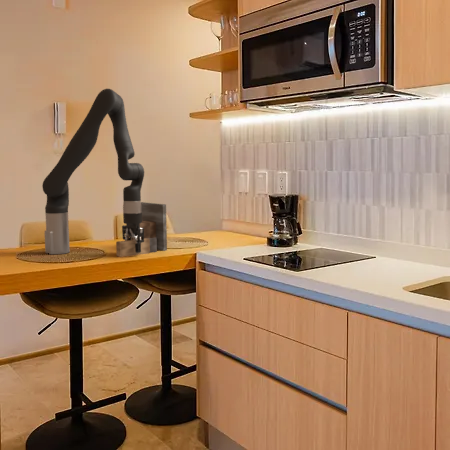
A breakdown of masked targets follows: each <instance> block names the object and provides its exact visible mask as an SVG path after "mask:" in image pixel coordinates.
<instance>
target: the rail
mask: <svg viewBox="0 0 450 450" xmlns="http://www.w3.org/2000/svg"><path fill="white" fill-rule="evenodd" d="M115 244H116V257H119V258H123V257H129V256H138V255H146V254H150V253H152V254H153V253H157V251H158V249H157V238H148V239H147V238H144V242H142V243H141V252H140V253H136V252H135V244H136V243H135V240H126V241H125V240H118V241H117V240H116V243H115Z"/></svg>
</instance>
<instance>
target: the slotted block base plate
mask: <svg viewBox="0 0 450 450" xmlns="http://www.w3.org/2000/svg"><path fill="white" fill-rule="evenodd" d="M141 207H142V223H140V224H139V226H140V228H144V238H147V239H148V238H157V251H158V250H159V251H168V238H167V237H168V235H167V234H168V233H167V231H168V230H167V228H168V227H167V204H165V203H153V202H146V201H145V202H144V201H141ZM140 234H141V233H140ZM141 239H142V237H141ZM131 240H134V239H133V238H132V239H131Z"/></svg>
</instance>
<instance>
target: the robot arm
mask: <svg viewBox="0 0 450 450" xmlns="http://www.w3.org/2000/svg"><path fill="white" fill-rule="evenodd" d="M107 115H108V117H109V118H110V121H111V124H112V129H113V130H112V132H113V144H114V149H115V152H116V155H117V173H118V176H119V178H120V179H121V180H123V181H131V183H130V185H128V186H125V187H124V188H123V189H122V190H123V193H122V195H123V196H122V197H123V205H122V217H123V223H124V224H125V225H122V226H121V228H122V229H121V233H122V235H121V236H122V241H126V240H131V239H132V238H133V239H134V240H135V243H136V244H135V252H136V253H140V252H141V243H142V242H144V228H140V226H139V224H140V223H142V207H141V202H142V199H141V197H142V196H141V190H142V186H143V182H144V179H145V178H144V177H145V169H144V167H143V165H142V164H141V163H139V162H129V160H132V159H133V158H134V157H135V155H136V154H135V149H134V146H133V143H132V140H131V136H130V133H129V128H128V123H127V118H126V117H127V116H126V108H125V101H124V99H123V97H122V96H121V95H119V93H117V92H116V91H115V90H113V89H111V88H104V89H102V90H100V91H99V92H98V94H97V96H96V97H95V99H94V101H93V103H92V105H91V107H90V109H89V111H88V112H87V115H86V116H85V117H84V119H83V121H82V122H81V124H80V126H79V127H78V129H77V130H76V131H75V133H74V134H73V136H72V137H71V140H70V141H69V142H68V145H67V146H66V148H65V150H64V151H63V153H62V155H61V157H60V159H59V160H58V162H57V163H56V164H55V166H54V167H53V168H52V170H51V171H50V173H48V175H46V177H45V178H44V180H43V182H42V186H41V187H42V191H43V193H44V194H45V195H46V204H45V208H44V210H45V213H44V214H45V230H44V246H45V247H44V248H45V249H44V252H45V254H48V253H49V254H48V255H64V254H68V253H70V249H71V248H70V229H69V206H70V204H69V202H70V200H69V199H70V196H69V195H70V192H69V190H70V188H69V183H68V182H69V180H70V178H71V176H72V175H73V173H74V172H75V171H76V170H77V168H78V167H80V166H81V164H82V163H84V161H85V160H86V159H87V158H88V157H89V155H90V154H91V152H92V150H94V147H95V146H96V144H97V142H98V137H99V132H100V127H101V125H102V123H103V121H104V119H105V118H106V116H107ZM140 233H141V234H140ZM141 237H142V239H141Z"/></svg>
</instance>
